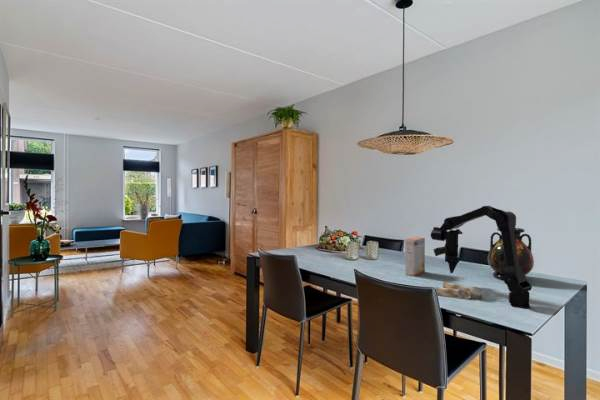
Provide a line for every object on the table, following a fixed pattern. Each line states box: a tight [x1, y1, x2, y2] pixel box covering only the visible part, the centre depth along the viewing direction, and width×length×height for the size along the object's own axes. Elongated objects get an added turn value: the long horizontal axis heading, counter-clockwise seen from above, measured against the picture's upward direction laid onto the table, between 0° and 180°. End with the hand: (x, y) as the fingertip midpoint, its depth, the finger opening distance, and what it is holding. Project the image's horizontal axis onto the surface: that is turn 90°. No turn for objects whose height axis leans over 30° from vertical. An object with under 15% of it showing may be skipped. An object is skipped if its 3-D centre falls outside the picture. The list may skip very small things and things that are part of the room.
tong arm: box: [442, 281, 483, 300], centre depth 150 cm, size 18×5×4 cm, turn 35°
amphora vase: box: [487, 227, 535, 281], centre depth 178 cm, size 22×22×28 cm
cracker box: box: [404, 236, 426, 277], centre depth 188 cm, size 14×6×21 cm, turn 134°
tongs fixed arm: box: [434, 286, 470, 300], centre depth 147 cm, size 14×3×4 cm, turn 65°
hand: (451, 273), depth 161 cm, fingers closed
